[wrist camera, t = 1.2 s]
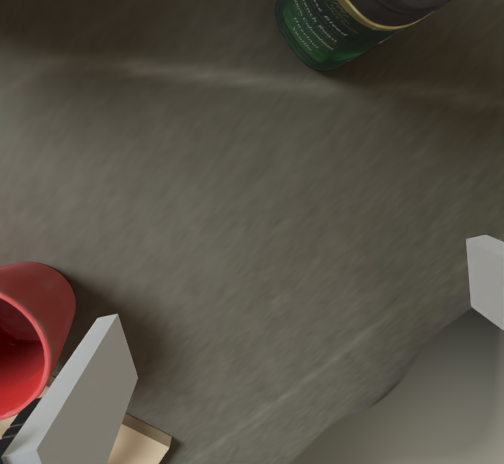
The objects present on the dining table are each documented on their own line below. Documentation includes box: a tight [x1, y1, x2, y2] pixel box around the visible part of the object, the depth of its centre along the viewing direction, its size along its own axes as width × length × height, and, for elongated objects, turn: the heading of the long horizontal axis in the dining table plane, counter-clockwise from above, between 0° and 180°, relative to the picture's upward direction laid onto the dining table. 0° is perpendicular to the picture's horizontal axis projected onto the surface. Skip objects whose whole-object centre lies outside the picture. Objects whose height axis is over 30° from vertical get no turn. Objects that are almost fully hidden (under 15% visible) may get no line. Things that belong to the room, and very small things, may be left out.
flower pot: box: [0, 262, 76, 421], centre depth 33 cm, size 11×11×10 cm
